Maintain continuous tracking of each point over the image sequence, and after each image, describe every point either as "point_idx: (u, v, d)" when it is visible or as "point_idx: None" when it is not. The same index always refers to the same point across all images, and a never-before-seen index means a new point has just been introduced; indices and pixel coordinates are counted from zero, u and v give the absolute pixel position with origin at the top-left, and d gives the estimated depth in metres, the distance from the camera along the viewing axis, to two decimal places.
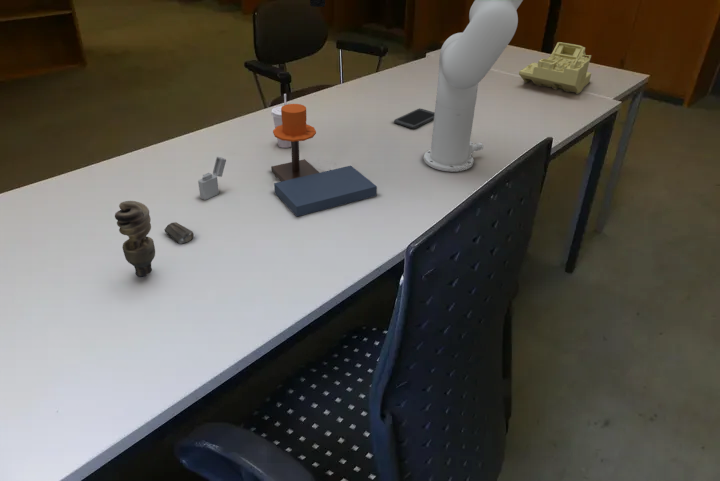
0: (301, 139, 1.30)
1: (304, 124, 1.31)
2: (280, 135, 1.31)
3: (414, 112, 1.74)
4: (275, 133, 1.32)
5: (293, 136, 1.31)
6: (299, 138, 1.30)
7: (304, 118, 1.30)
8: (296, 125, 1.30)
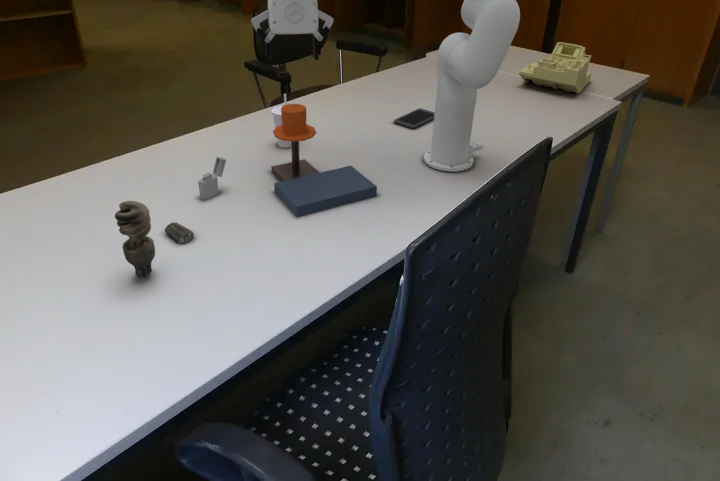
0: (301, 139, 1.30)
1: (304, 124, 1.31)
2: (280, 135, 1.31)
3: (414, 112, 1.74)
4: (275, 133, 1.32)
5: (293, 136, 1.31)
6: (299, 138, 1.30)
7: (304, 118, 1.30)
8: (296, 125, 1.30)
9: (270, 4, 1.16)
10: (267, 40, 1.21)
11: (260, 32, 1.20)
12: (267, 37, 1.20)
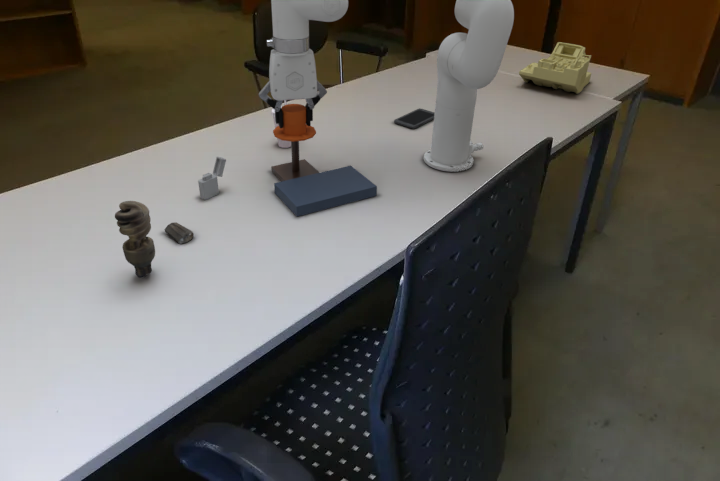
0: (301, 139, 1.30)
1: (304, 124, 1.31)
2: (280, 135, 1.31)
3: (414, 112, 1.74)
4: (275, 133, 1.32)
5: (293, 136, 1.31)
6: (299, 138, 1.30)
7: (304, 118, 1.30)
8: (296, 125, 1.30)
9: (271, 74, 1.23)
10: (277, 109, 1.28)
11: (270, 102, 1.27)
12: (276, 107, 1.28)
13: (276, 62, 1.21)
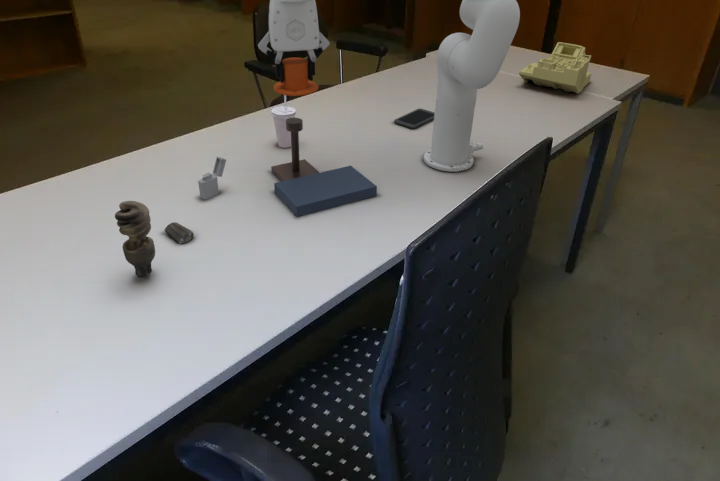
0: (303, 93, 1.24)
1: (306, 78, 1.25)
2: (281, 90, 1.25)
3: (414, 112, 1.74)
4: (275, 88, 1.26)
5: (294, 91, 1.25)
6: (300, 93, 1.24)
7: (306, 72, 1.24)
8: (297, 79, 1.24)
9: (271, 22, 1.17)
10: (277, 62, 1.22)
11: (270, 54, 1.21)
12: (276, 59, 1.22)
13: (276, 9, 1.15)
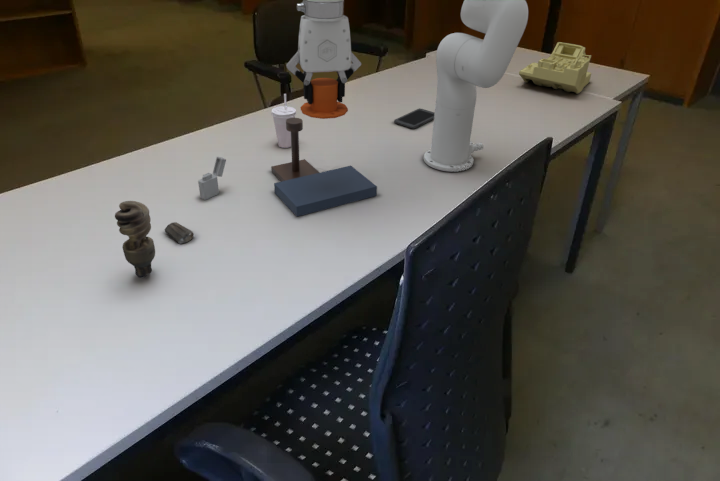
0: (332, 116, 1.18)
1: (335, 100, 1.19)
2: (309, 112, 1.19)
3: (414, 112, 1.74)
4: (303, 110, 1.20)
5: (323, 113, 1.18)
6: (330, 115, 1.17)
7: (336, 93, 1.18)
8: (327, 101, 1.18)
9: (302, 42, 1.11)
10: (306, 83, 1.16)
11: (299, 75, 1.15)
12: (305, 80, 1.16)
13: (308, 28, 1.09)
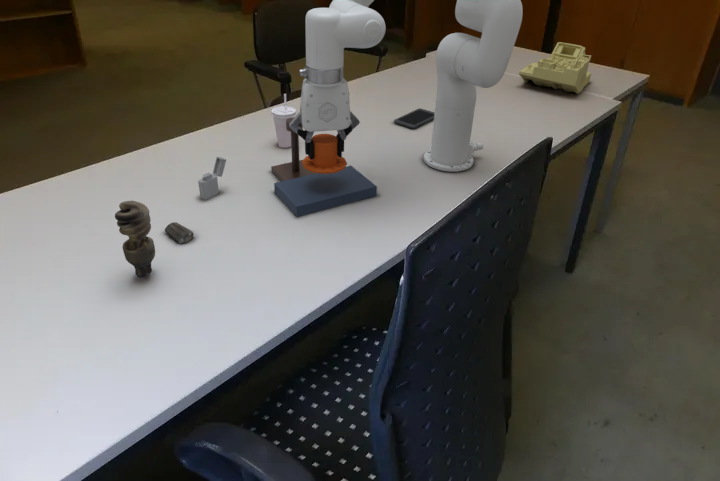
0: (332, 171, 1.24)
1: (335, 155, 1.26)
2: (310, 167, 1.25)
3: (414, 112, 1.74)
4: (305, 164, 1.26)
5: (324, 168, 1.25)
6: (330, 170, 1.24)
7: (335, 149, 1.25)
8: (327, 157, 1.24)
9: (303, 104, 1.17)
10: (308, 140, 1.23)
11: (301, 133, 1.22)
12: (307, 138, 1.22)
13: (309, 92, 1.16)
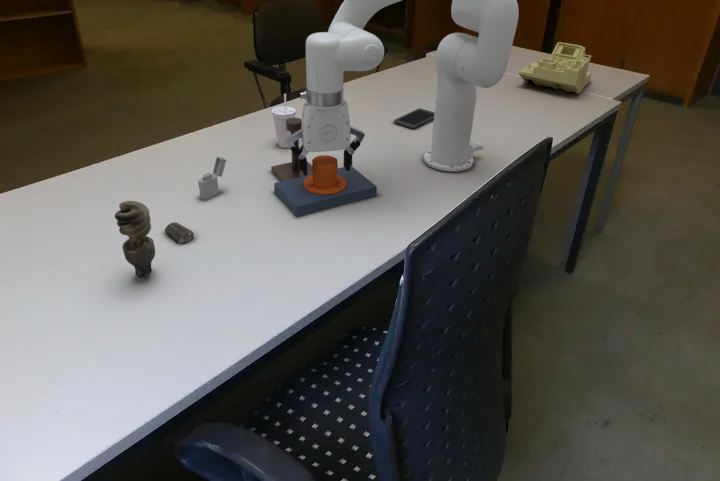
0: (332, 192, 1.27)
1: (335, 177, 1.29)
2: (311, 188, 1.28)
3: (414, 112, 1.74)
4: (305, 185, 1.29)
5: (324, 189, 1.28)
6: (330, 192, 1.27)
7: (335, 171, 1.28)
8: (327, 178, 1.27)
9: (305, 126, 1.20)
10: (301, 157, 1.24)
11: (295, 150, 1.24)
12: (301, 154, 1.24)
13: (310, 115, 1.18)
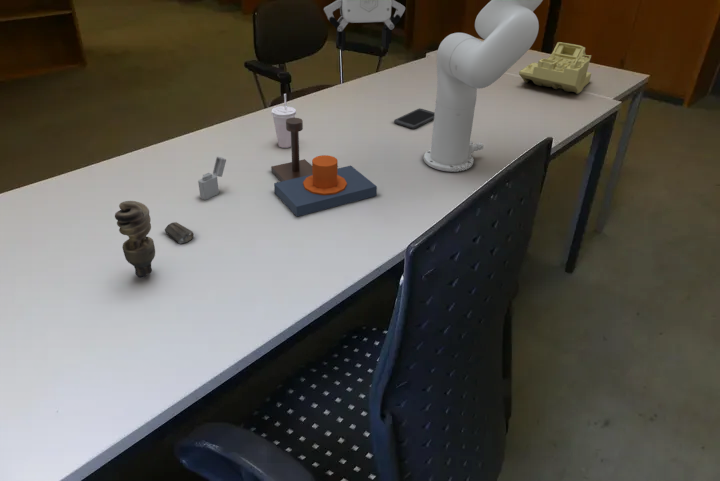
0: (332, 192, 1.27)
1: (335, 177, 1.29)
2: (311, 188, 1.28)
3: (414, 112, 1.74)
4: (305, 185, 1.29)
5: (324, 189, 1.28)
6: (330, 192, 1.27)
7: (335, 171, 1.28)
8: (327, 178, 1.27)
9: None
10: (339, 29, 1.20)
11: (333, 21, 1.19)
12: (340, 26, 1.19)
13: None
